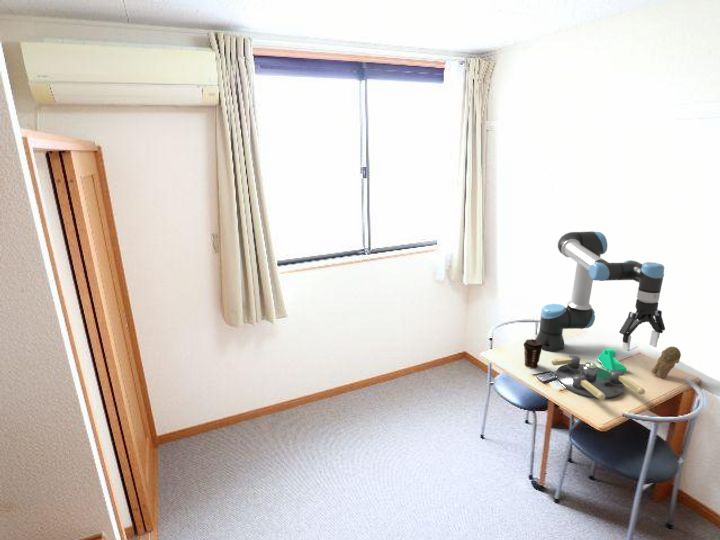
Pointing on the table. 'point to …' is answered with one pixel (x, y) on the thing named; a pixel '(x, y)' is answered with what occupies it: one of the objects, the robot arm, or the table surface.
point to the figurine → (666, 361)
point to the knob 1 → (587, 386)
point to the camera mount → (611, 360)
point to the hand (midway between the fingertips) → (639, 347)
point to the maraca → (568, 361)
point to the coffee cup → (532, 353)
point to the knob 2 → (625, 381)
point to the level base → (599, 383)
